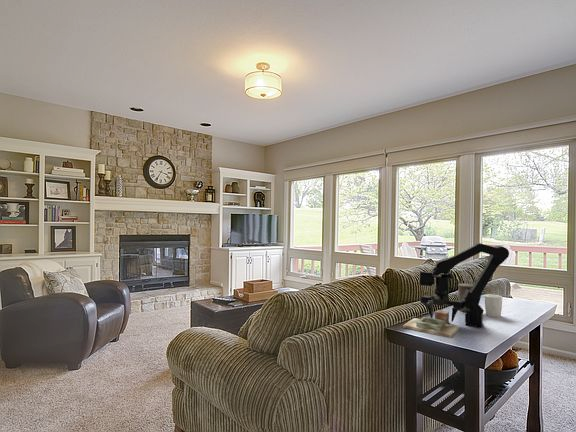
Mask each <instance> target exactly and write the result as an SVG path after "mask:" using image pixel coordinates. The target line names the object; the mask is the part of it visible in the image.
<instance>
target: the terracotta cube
mask: <svg viewBox="0 0 576 432" xmlns="http://www.w3.org/2000/svg"><path fill="white" fill-rule="evenodd" d="M434 319H438V320H444V321H446V324H448V323H449V322H450V311H447V310H441V309H437V310H435V311H434Z"/></svg>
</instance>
